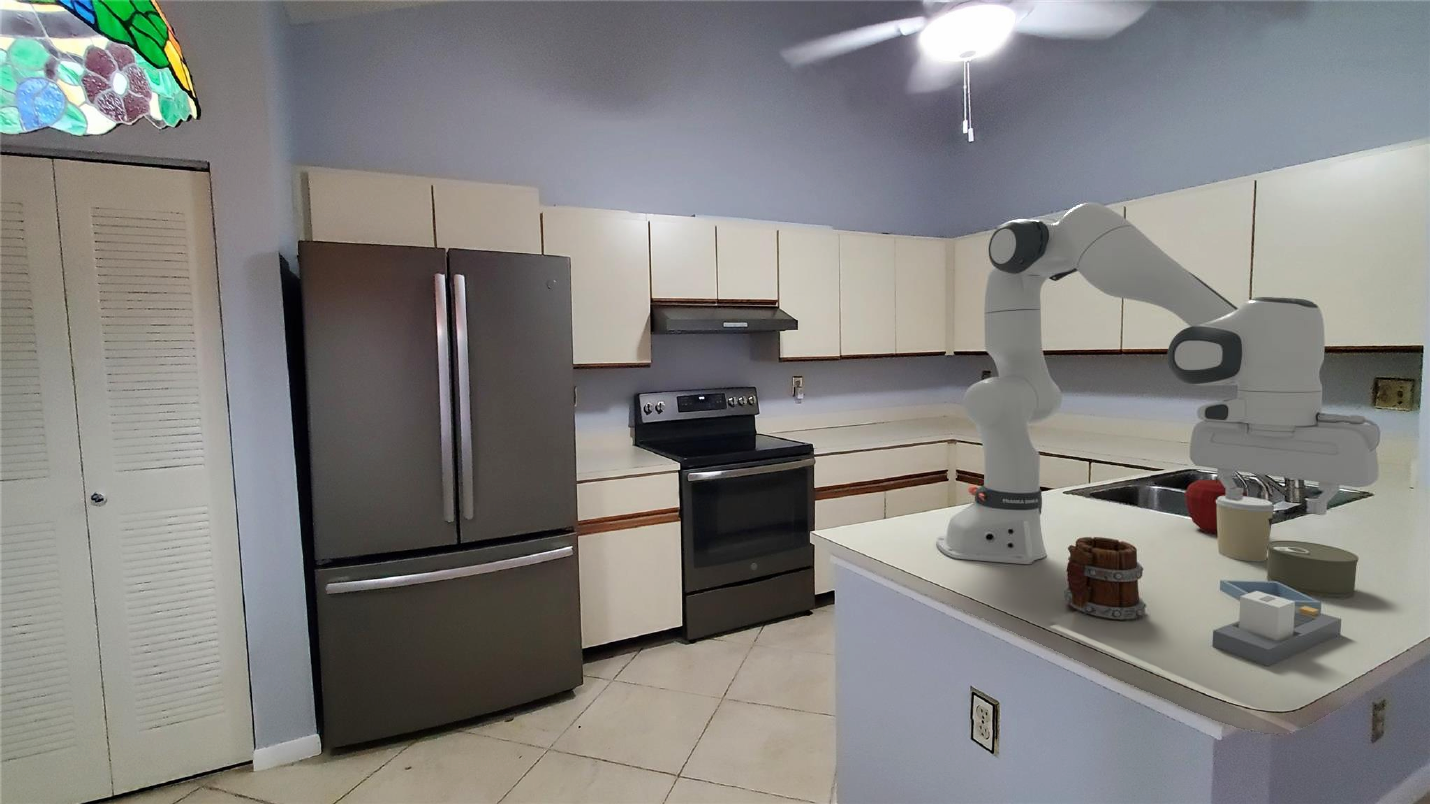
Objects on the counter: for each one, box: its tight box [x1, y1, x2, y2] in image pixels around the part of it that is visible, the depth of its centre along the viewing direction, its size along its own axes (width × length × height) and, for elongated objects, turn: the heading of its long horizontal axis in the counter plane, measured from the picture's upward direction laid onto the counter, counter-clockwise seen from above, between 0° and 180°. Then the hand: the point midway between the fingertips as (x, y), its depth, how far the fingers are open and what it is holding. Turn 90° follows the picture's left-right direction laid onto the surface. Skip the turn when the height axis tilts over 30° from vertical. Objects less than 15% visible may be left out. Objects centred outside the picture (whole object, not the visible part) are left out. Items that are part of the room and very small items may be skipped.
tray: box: [1219, 579, 1322, 613], centre depth 104 cm, size 9×9×3 cm
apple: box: [1184, 476, 1248, 534], centre depth 146 cm, size 12×12×13 cm
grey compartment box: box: [1211, 606, 1342, 667], centre depth 91 cm, size 25×6×4 cm, turn 115°
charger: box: [1238, 591, 1295, 642], centre depth 89 cm, size 4×4×7 cm
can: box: [1266, 540, 1359, 599], centre depth 112 cm, size 12×12×7 cm
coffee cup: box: [1216, 496, 1275, 562], centre depth 129 cm, size 9×9×12 cm
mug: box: [1063, 536, 1147, 622], centre depth 102 cm, size 12×14×15 cm
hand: (1273, 506), depth 87 cm, fingers open, 8 cm apart
